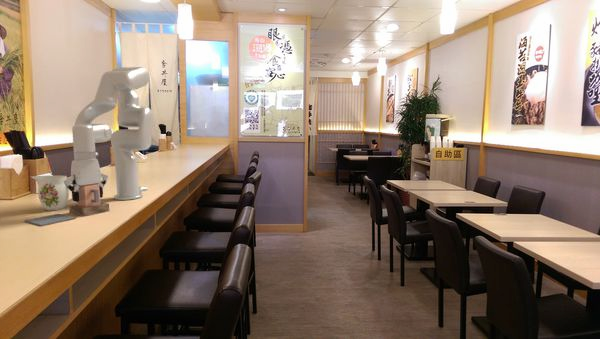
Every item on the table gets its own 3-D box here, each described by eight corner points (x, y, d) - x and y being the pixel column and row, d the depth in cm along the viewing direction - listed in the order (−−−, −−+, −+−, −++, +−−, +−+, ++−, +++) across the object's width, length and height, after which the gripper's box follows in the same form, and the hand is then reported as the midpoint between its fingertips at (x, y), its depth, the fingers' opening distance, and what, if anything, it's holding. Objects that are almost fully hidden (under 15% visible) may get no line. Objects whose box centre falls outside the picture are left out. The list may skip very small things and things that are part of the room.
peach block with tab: (92, 209, 169) (90, 183, 167) (105, 212, 164) (103, 185, 163) (78, 212, 164) (75, 185, 162) (91, 215, 159) (88, 187, 158)
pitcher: (77, 210, 168) (74, 176, 166) (28, 212, 165) (24, 178, 163) (85, 204, 179) (82, 173, 177) (39, 206, 175) (36, 174, 173)
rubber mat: (58, 214, 160) (58, 213, 160) (75, 218, 154) (75, 217, 154) (24, 221, 150) (24, 220, 150) (41, 226, 144) (41, 224, 144)
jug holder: (94, 207, 172) (94, 200, 171) (109, 210, 166) (109, 203, 166) (69, 213, 163) (68, 205, 163) (84, 216, 158) (83, 208, 157)
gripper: (100, 154, 171) (103, 195, 173) (57, 157, 156) (60, 202, 159) (111, 154, 167) (113, 196, 169) (68, 158, 152) (71, 204, 155)
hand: (88, 199), depth 164 cm, fingers open, 9 cm apart
